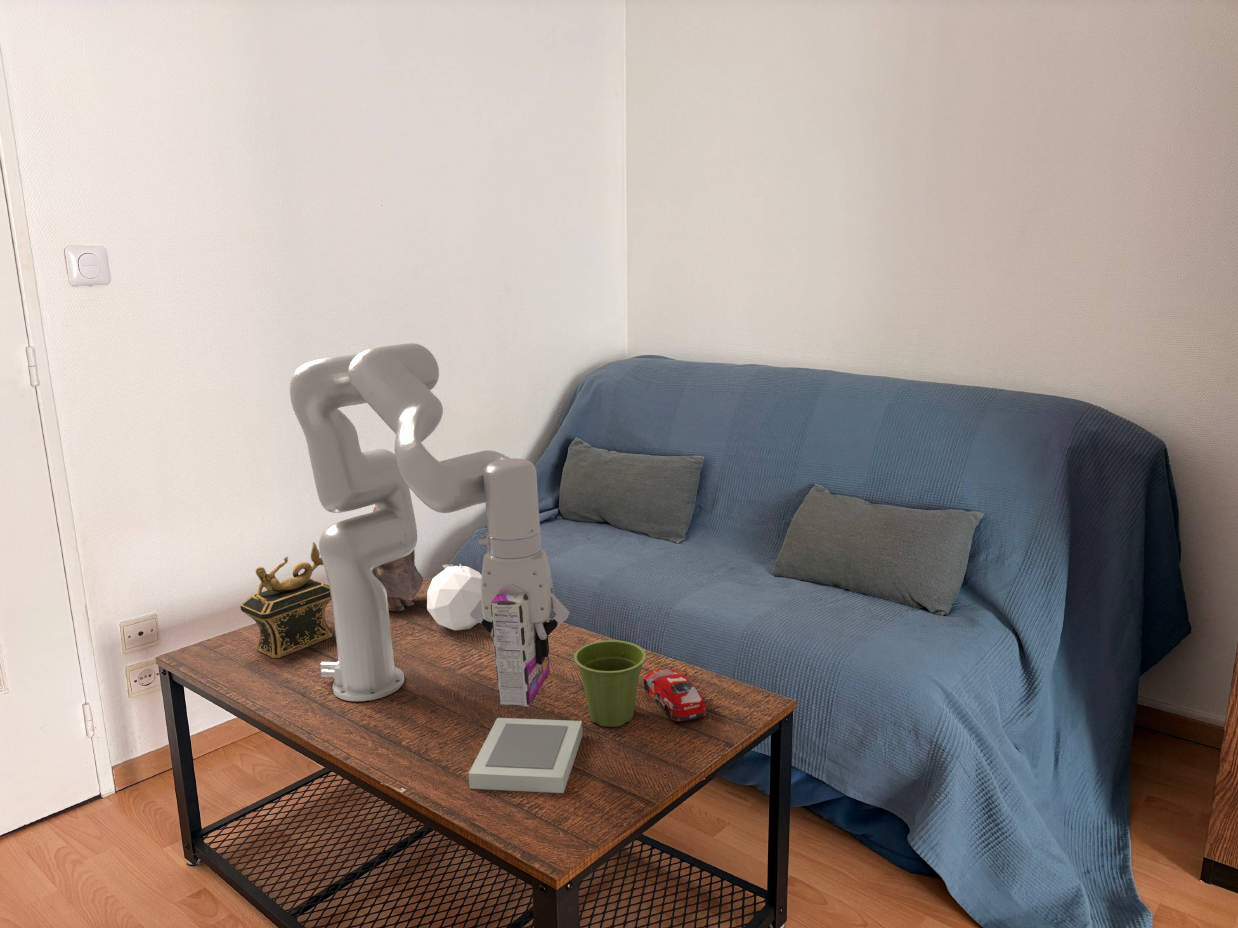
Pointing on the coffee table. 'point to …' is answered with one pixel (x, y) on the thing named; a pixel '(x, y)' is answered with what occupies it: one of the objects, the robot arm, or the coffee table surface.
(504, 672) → the candy bar box
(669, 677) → the race car
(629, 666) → the plant pot
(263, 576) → the decorative box
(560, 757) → the picture frame
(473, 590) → the geodesic sphere
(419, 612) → the coffee table surface
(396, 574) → the clay figurine
